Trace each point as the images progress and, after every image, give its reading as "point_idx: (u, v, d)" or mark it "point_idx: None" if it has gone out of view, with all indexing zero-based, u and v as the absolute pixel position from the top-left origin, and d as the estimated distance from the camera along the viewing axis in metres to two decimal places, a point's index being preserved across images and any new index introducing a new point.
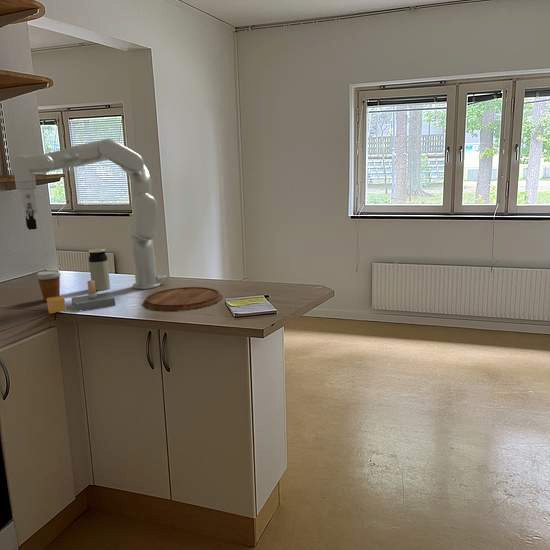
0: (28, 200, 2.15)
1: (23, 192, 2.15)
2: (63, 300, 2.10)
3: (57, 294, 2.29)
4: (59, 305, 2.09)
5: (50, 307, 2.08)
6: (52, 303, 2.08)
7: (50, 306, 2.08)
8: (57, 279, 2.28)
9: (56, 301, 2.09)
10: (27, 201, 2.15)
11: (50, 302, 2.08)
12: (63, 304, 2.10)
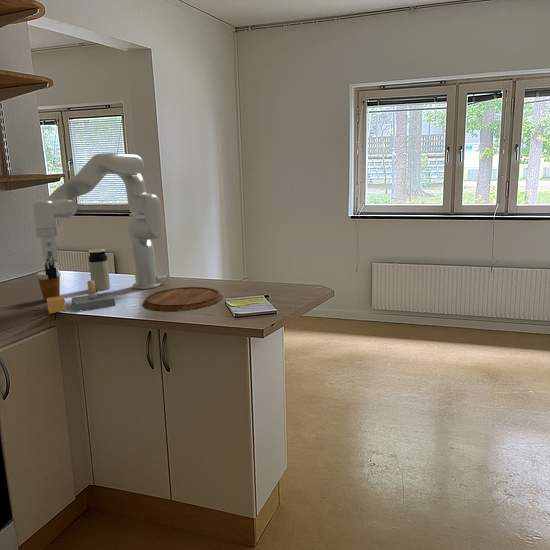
0: (49, 248, 2.02)
1: (43, 240, 2.02)
2: (63, 300, 2.10)
3: (57, 294, 2.29)
4: (59, 305, 2.09)
5: (50, 307, 2.08)
6: (52, 303, 2.08)
7: (50, 306, 2.08)
8: (57, 279, 2.28)
9: (56, 301, 2.09)
10: (48, 250, 2.02)
11: (50, 302, 2.08)
12: (63, 304, 2.10)
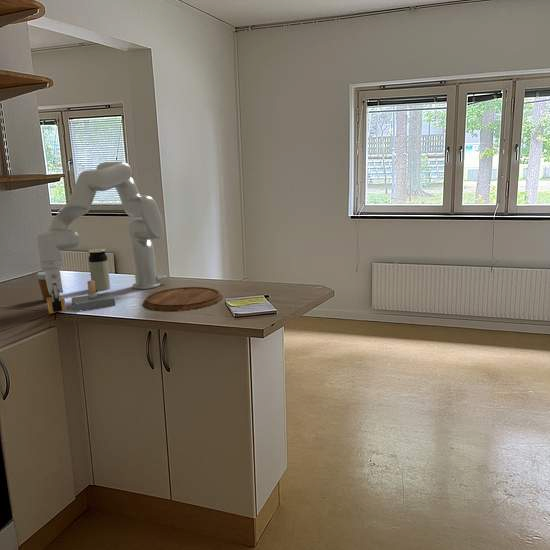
0: (53, 280, 2.05)
1: (48, 272, 2.04)
2: (63, 300, 2.10)
3: None
4: None
5: (50, 307, 2.08)
6: None
7: (50, 306, 2.08)
8: None
9: None
10: (53, 282, 2.05)
11: (50, 302, 2.08)
12: (63, 304, 2.10)
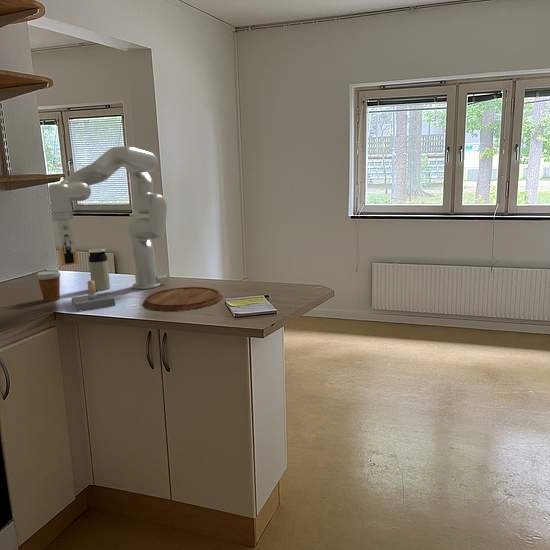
0: (65, 231, 2.04)
1: (60, 223, 2.03)
2: (75, 252, 2.09)
3: (57, 294, 2.29)
4: None
5: (62, 259, 2.07)
6: None
7: (62, 258, 2.07)
8: (57, 279, 2.28)
9: None
10: (64, 233, 2.04)
11: (62, 254, 2.07)
12: (75, 256, 2.09)
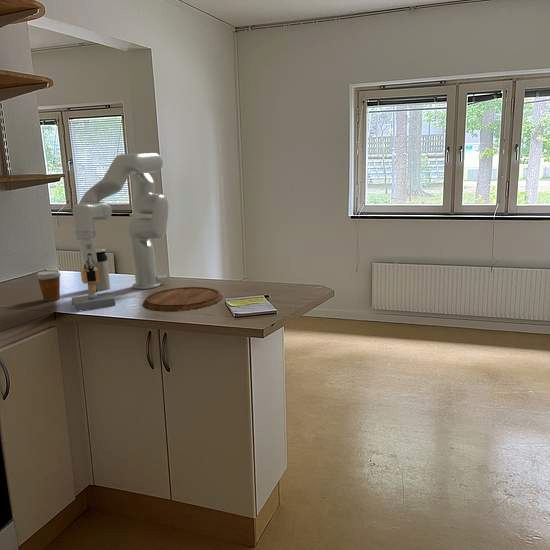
0: (88, 250, 2.09)
1: (83, 242, 2.08)
2: (97, 270, 2.14)
3: (57, 294, 2.29)
4: None
5: (84, 277, 2.12)
6: (86, 273, 2.12)
7: (84, 276, 2.12)
8: (57, 279, 2.28)
9: None
10: (88, 252, 2.09)
11: (84, 272, 2.12)
12: (97, 274, 2.14)
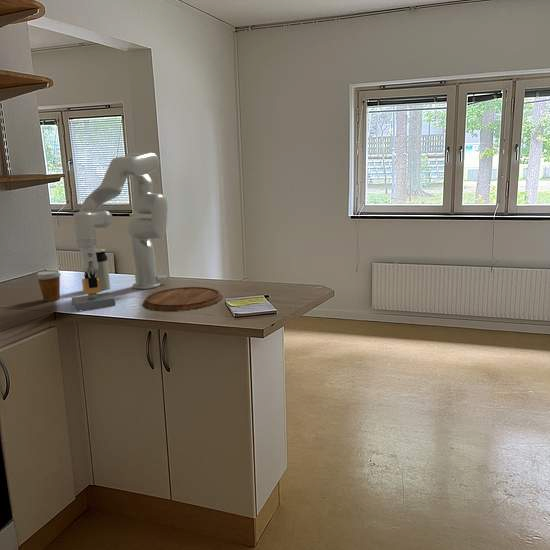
0: (89, 258, 2.10)
1: (85, 250, 2.09)
2: (98, 281, 2.15)
3: (57, 294, 2.29)
4: None
5: (86, 288, 2.13)
6: (88, 284, 2.13)
7: (86, 287, 2.13)
8: (57, 279, 2.28)
9: None
10: (89, 260, 2.10)
11: (86, 283, 2.13)
12: (98, 285, 2.15)
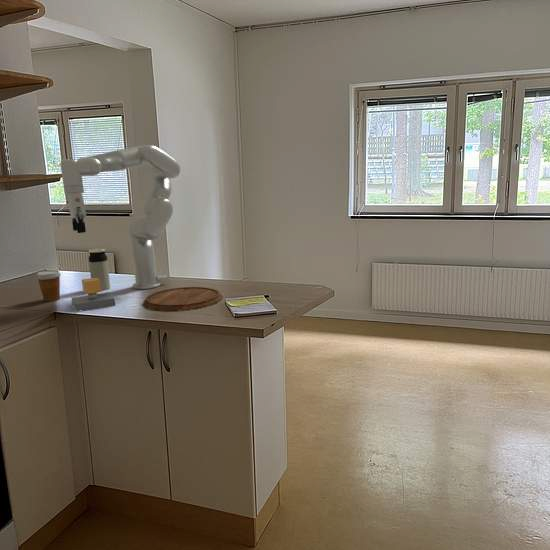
0: (77, 204, 2.16)
1: (72, 196, 2.16)
2: (99, 281, 2.15)
3: (57, 294, 2.29)
4: (95, 286, 2.14)
5: (86, 288, 2.13)
6: (88, 284, 2.13)
7: (86, 287, 2.13)
8: (57, 279, 2.28)
9: (92, 282, 2.14)
10: (76, 205, 2.16)
11: (86, 283, 2.13)
12: (98, 284, 2.15)
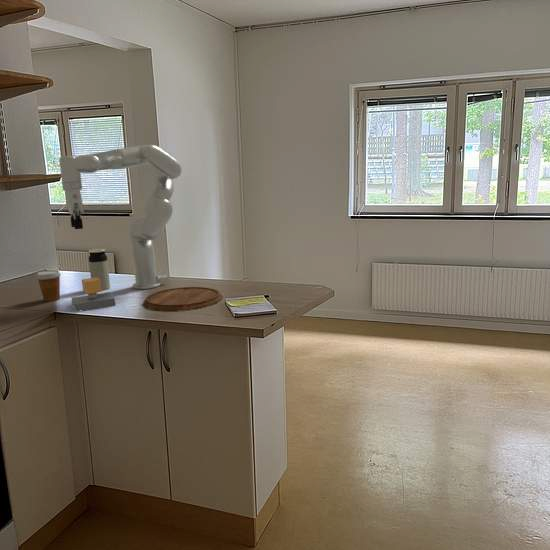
0: (75, 200, 2.18)
1: (70, 192, 2.17)
2: (99, 281, 2.15)
3: (57, 294, 2.29)
4: (95, 286, 2.15)
5: (87, 288, 2.13)
6: (88, 284, 2.13)
7: (87, 287, 2.13)
8: (57, 279, 2.28)
9: (92, 282, 2.14)
10: (74, 201, 2.18)
11: (87, 283, 2.13)
12: (99, 284, 2.15)
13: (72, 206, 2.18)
